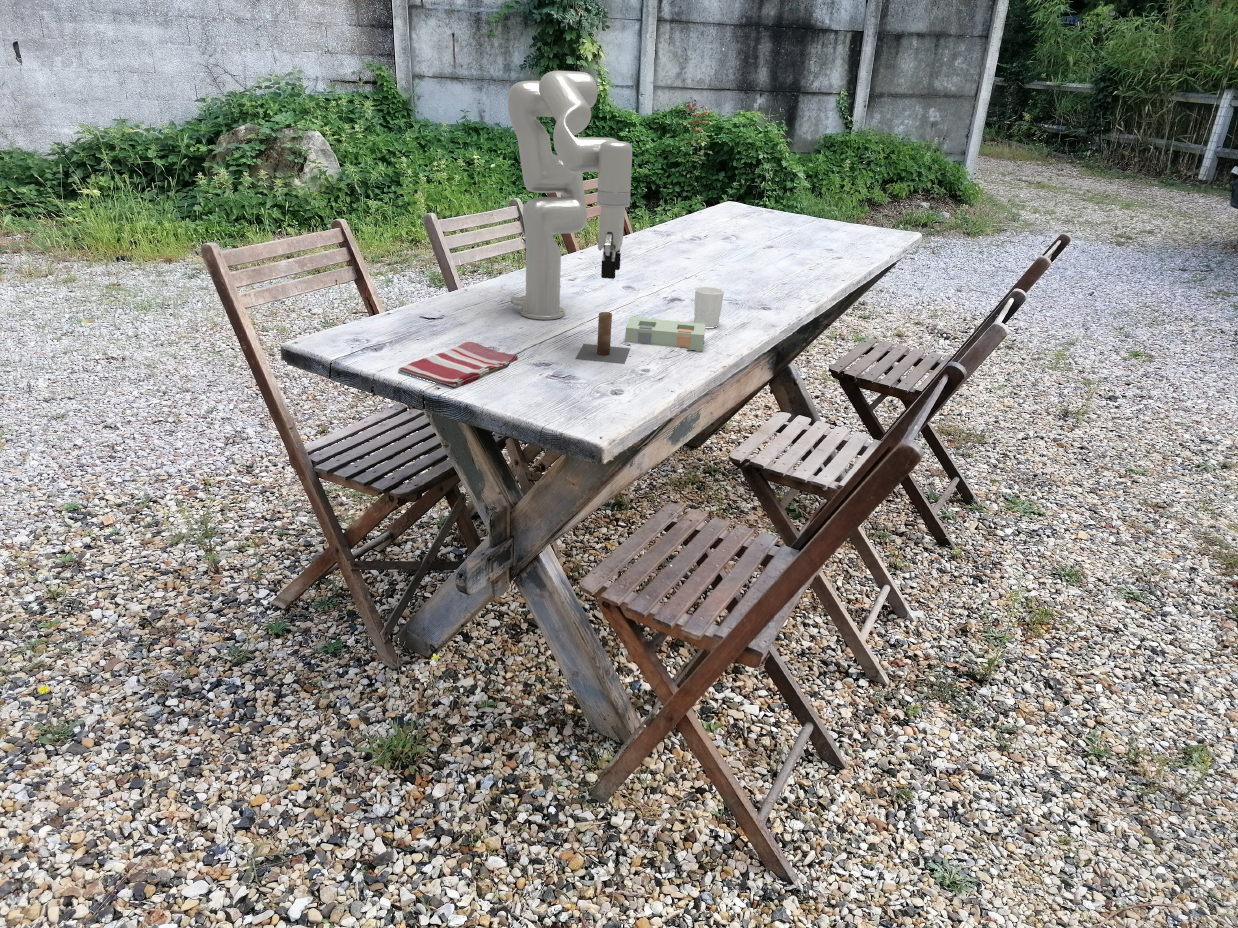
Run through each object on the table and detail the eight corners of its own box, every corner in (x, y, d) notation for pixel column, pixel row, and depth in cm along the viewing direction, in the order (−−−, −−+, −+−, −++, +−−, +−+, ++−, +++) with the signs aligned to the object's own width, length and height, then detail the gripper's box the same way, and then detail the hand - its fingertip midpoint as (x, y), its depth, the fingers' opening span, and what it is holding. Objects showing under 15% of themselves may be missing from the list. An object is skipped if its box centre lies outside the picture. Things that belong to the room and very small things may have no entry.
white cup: (697, 330, 230) (701, 294, 226) (688, 321, 237) (691, 286, 233) (724, 329, 232) (728, 294, 228) (713, 321, 239) (717, 286, 235)
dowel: (595, 354, 204) (597, 315, 200) (597, 350, 207) (599, 311, 203) (608, 356, 204) (611, 316, 199) (610, 352, 207) (612, 312, 202)
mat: (574, 362, 201) (575, 359, 201) (583, 346, 212) (583, 343, 211) (624, 367, 200) (624, 363, 200) (630, 351, 211) (630, 348, 210)
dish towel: (520, 364, 199) (520, 353, 198) (453, 392, 181) (453, 381, 180) (466, 349, 207) (465, 338, 205) (396, 374, 188) (396, 363, 187)
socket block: (624, 344, 215) (625, 326, 213) (629, 333, 224) (630, 315, 222) (702, 352, 213) (704, 334, 211) (703, 340, 222) (705, 322, 220)
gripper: (602, 193, 199) (600, 265, 207) (592, 203, 184) (589, 280, 191) (633, 195, 199) (630, 267, 206) (625, 205, 183) (622, 283, 190)
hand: (610, 273), depth 198 cm, fingers open, 9 cm apart
